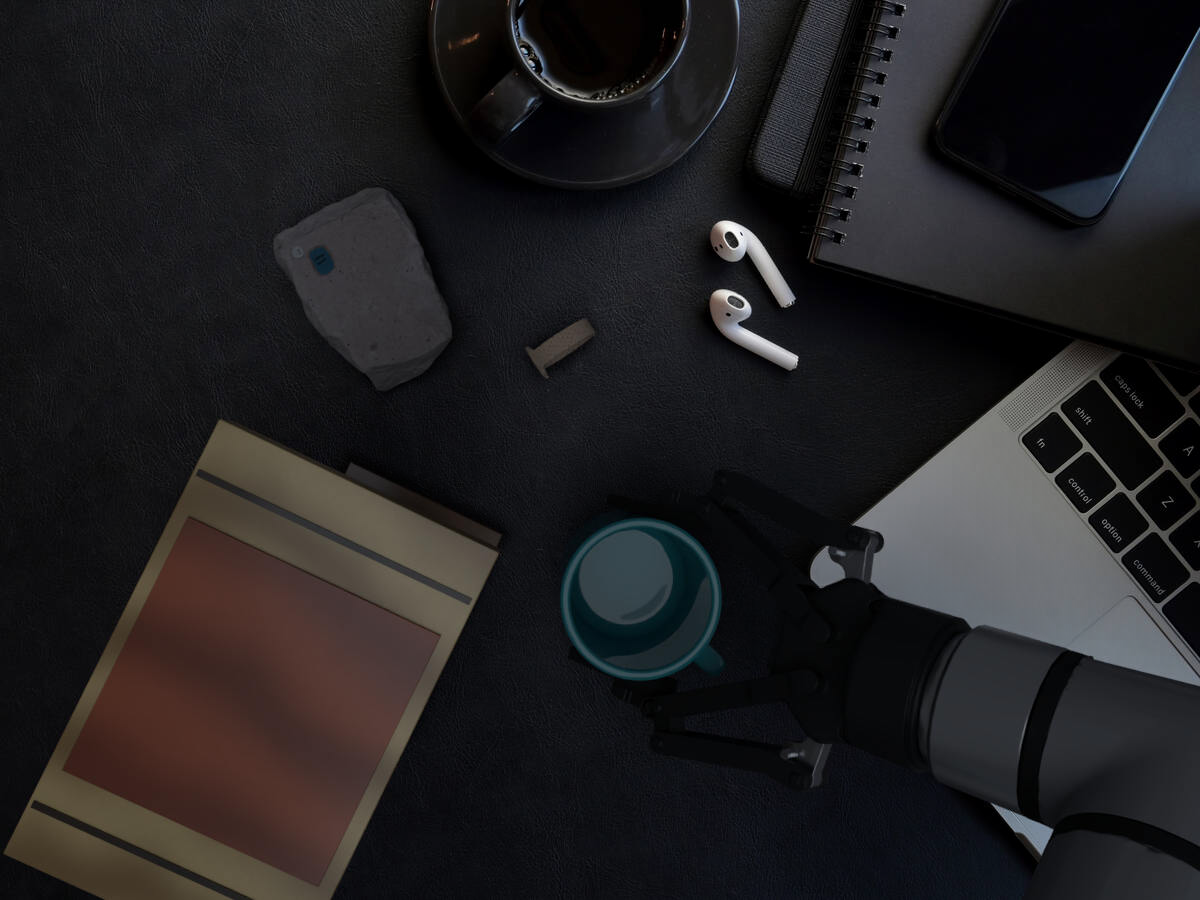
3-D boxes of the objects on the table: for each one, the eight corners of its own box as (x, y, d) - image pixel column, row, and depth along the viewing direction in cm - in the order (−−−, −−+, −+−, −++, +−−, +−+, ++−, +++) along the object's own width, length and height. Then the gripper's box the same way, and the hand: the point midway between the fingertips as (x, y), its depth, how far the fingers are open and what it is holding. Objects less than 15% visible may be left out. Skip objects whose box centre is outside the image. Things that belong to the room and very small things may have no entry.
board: (299, 964, 41) (288, 986, 39) (22, 839, 40) (-1, 856, 38) (501, 549, 41) (499, 553, 39) (231, 419, 40) (217, 418, 39)
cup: (659, 700, 63) (683, 751, 52) (529, 579, 62) (525, 603, 51) (750, 602, 63) (794, 631, 52) (622, 480, 63) (638, 484, 52)
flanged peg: (525, 351, 68) (523, 343, 63) (580, 315, 68) (582, 305, 63) (545, 382, 68) (545, 376, 63) (600, 346, 68) (603, 338, 63)
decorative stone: (276, 247, 67) (249, 228, 61) (392, 186, 68) (377, 161, 62) (365, 409, 68) (347, 406, 62) (480, 348, 68) (474, 338, 62)
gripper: (930, 913, 46) (599, 743, 61) (1031, 484, 46) (678, 420, 62) (863, 946, 40) (517, 750, 55) (979, 458, 41) (605, 395, 56)
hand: (602, 576), depth 58 cm, fingers closed on cup, 9 cm apart
